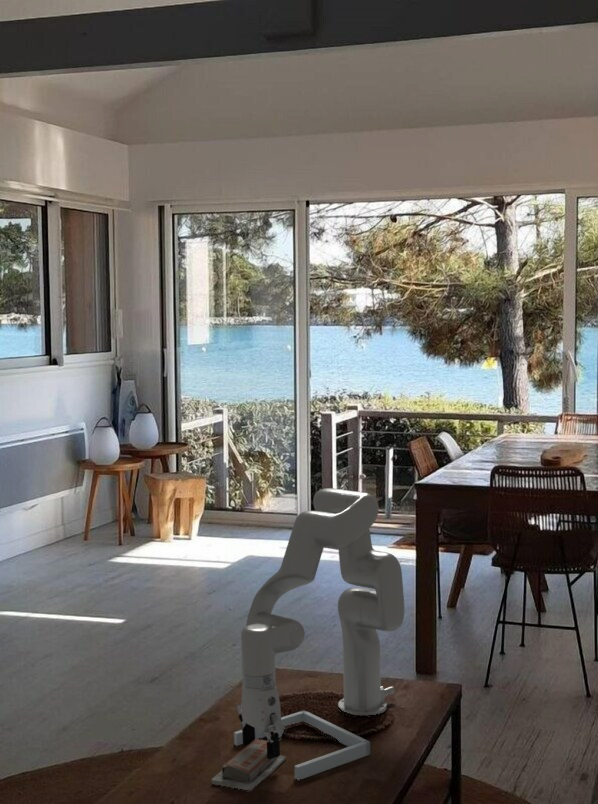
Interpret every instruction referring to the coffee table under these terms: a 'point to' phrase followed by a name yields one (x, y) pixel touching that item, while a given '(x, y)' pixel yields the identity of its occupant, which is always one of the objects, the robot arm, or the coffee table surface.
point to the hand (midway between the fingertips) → (261, 750)
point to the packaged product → (248, 767)
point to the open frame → (352, 752)
